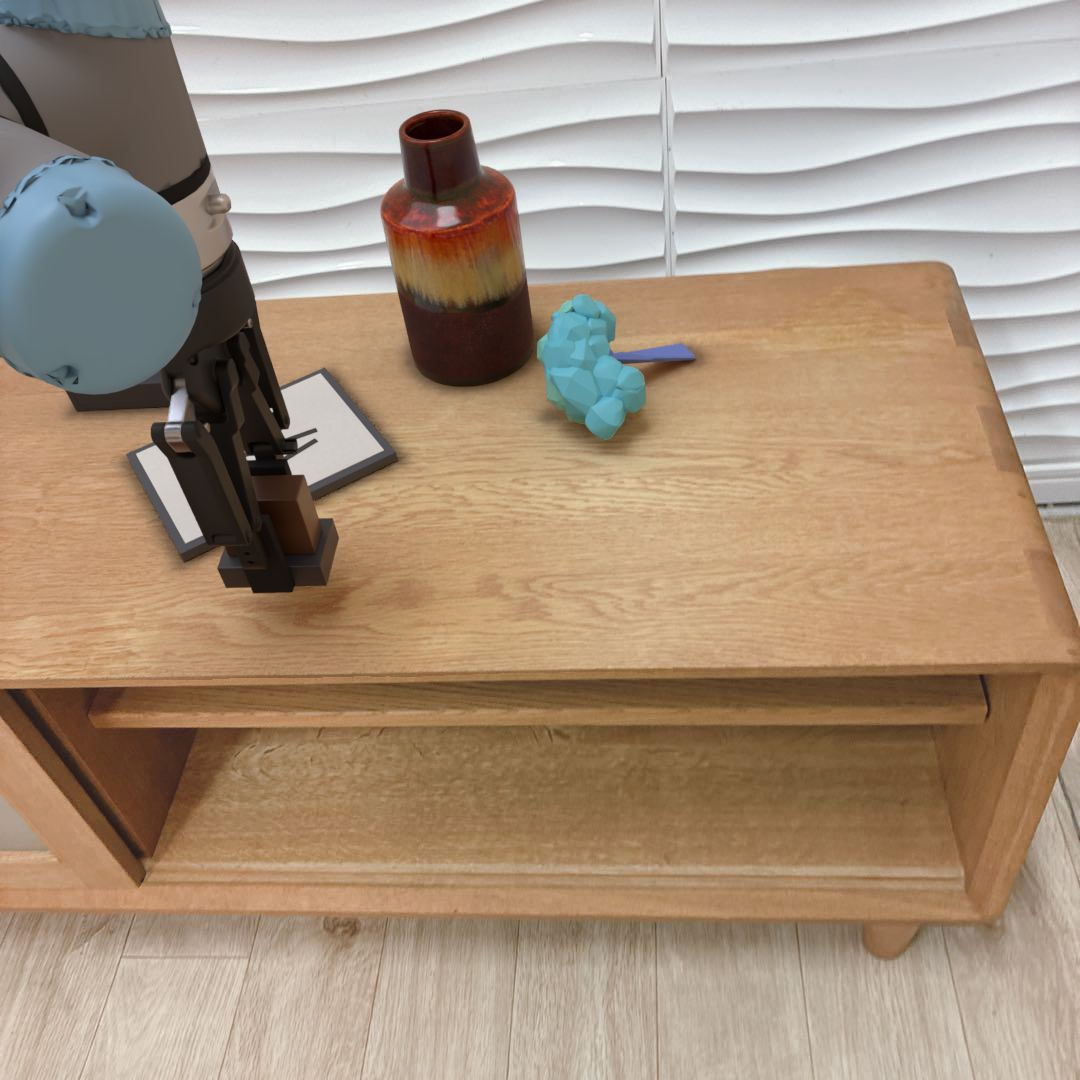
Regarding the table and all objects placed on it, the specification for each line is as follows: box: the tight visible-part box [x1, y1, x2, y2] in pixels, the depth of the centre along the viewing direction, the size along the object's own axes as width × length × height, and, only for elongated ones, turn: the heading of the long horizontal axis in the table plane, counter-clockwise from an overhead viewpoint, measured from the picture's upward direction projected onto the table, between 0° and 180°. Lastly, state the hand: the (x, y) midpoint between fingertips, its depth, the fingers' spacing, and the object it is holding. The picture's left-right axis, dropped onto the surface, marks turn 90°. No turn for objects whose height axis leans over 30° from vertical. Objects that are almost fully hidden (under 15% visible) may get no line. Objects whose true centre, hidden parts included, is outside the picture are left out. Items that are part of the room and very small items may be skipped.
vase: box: [379, 108, 535, 387], centre depth 87 cm, size 11×11×20 cm
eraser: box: [216, 475, 340, 589], centre depth 71 cm, size 7×4×7 cm, turn 87°
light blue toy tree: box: [536, 293, 696, 441], centre depth 87 cm, size 11×9×15 cm
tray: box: [64, 371, 171, 412], centre depth 95 cm, size 11×8×3 cm
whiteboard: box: [125, 367, 399, 562], centre depth 87 cm, size 18×14×1 cm
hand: (282, 559), depth 73 cm, fingers closed on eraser, 4 cm apart
